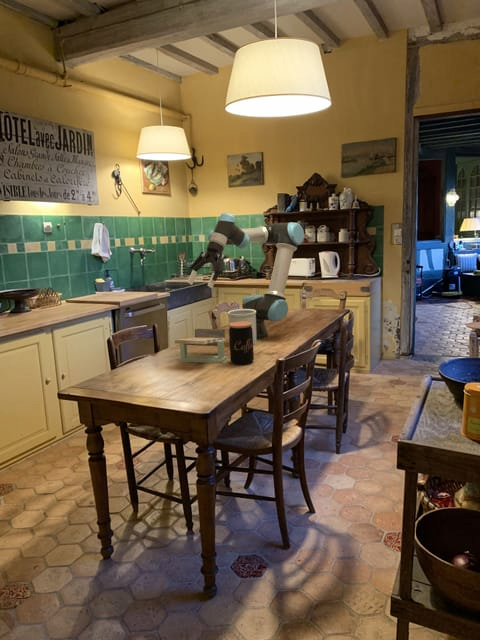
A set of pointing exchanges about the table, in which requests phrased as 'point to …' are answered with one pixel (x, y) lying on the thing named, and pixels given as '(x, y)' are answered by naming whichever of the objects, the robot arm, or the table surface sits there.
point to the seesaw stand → (203, 358)
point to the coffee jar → (241, 343)
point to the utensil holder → (244, 318)
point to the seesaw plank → (204, 337)
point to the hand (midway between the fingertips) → (199, 285)
